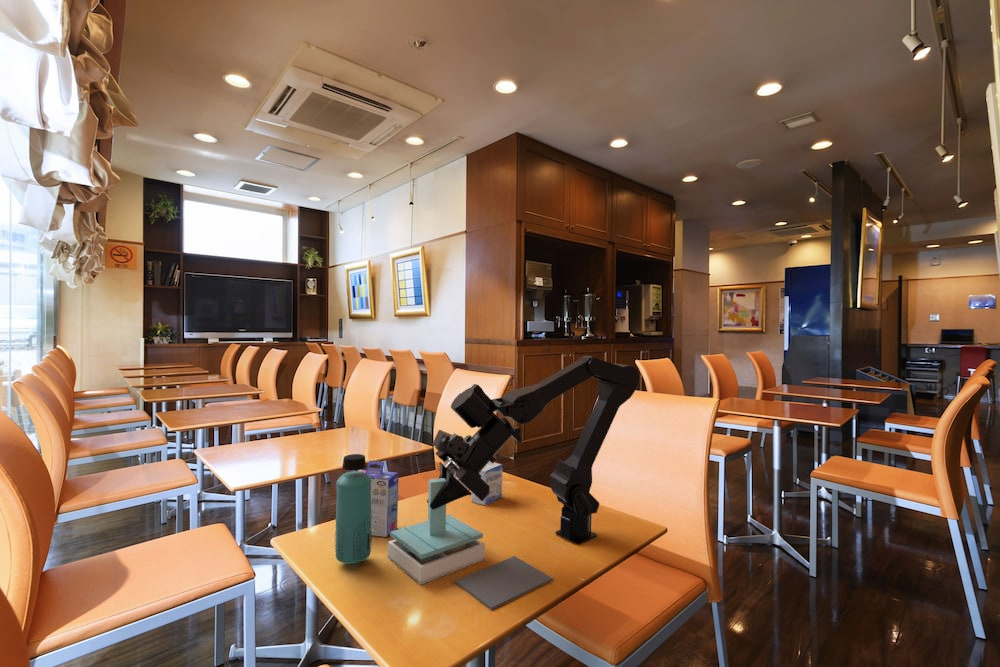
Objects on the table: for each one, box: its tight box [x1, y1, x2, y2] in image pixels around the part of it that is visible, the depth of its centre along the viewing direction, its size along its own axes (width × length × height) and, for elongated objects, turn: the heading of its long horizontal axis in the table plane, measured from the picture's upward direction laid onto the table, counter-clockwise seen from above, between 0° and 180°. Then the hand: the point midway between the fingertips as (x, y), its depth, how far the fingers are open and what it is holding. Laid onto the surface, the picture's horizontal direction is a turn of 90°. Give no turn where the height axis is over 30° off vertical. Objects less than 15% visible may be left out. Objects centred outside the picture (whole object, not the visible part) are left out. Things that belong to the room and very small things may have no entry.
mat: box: [454, 555, 554, 611], centre depth 81 cm, size 14×10×1 cm
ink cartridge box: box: [357, 460, 399, 538], centre depth 100 cm, size 10×6×14 cm, turn 78°
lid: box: [389, 477, 484, 559], centre depth 88 cm, size 13×11×11 cm
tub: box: [387, 539, 486, 586], centre depth 88 cm, size 14×12×3 cm
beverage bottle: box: [334, 453, 373, 564], centre depth 86 cm, size 6×7×20 cm
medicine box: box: [470, 461, 503, 507], centre depth 120 cm, size 8×4×9 cm, turn 147°
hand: (429, 505), depth 88 cm, fingers closed on lid
